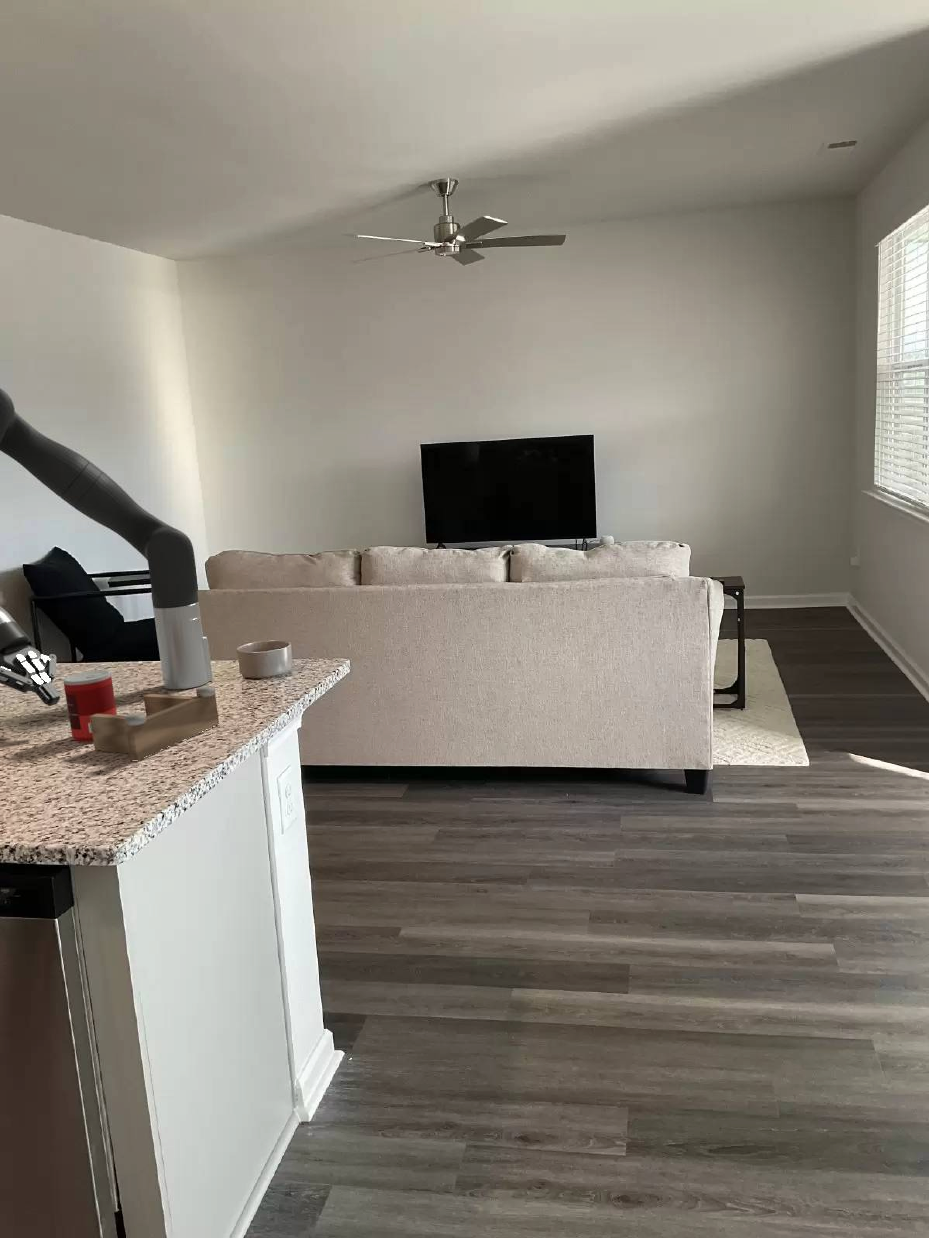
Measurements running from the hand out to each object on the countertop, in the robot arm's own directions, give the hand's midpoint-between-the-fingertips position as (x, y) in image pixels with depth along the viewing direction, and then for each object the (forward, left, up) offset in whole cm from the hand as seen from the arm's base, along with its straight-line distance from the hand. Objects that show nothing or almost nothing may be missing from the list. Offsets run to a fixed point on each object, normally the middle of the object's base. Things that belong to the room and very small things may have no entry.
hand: (55, 702), depth 179 cm
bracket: (-6, +21, -6) cm, 23 cm away
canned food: (-2, +8, -6) cm, 11 cm away
